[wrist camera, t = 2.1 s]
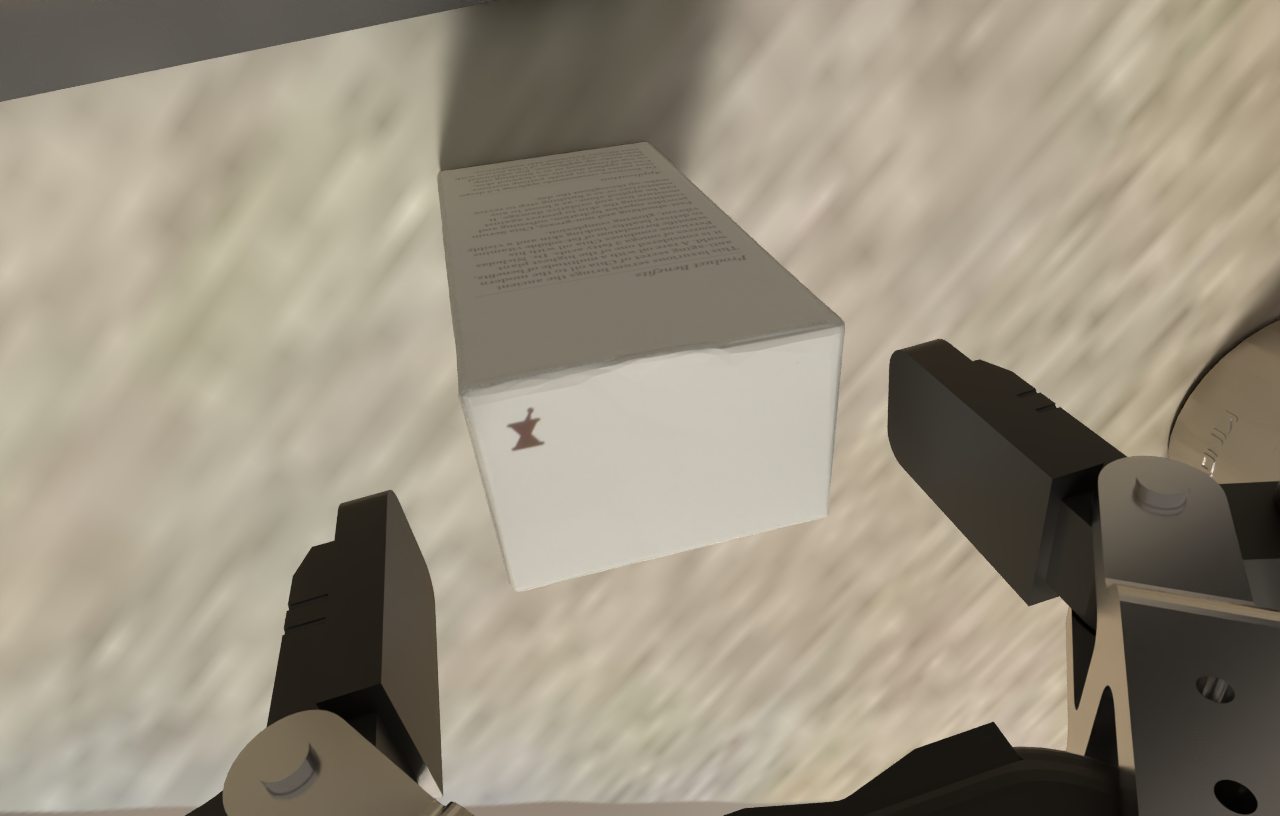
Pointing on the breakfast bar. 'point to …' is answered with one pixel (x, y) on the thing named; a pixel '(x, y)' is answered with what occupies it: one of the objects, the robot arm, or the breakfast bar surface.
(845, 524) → the breakfast bar surface
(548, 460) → the skincare box
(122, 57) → the picture frame
